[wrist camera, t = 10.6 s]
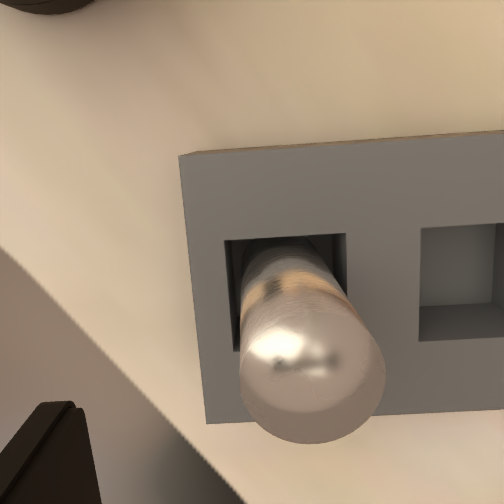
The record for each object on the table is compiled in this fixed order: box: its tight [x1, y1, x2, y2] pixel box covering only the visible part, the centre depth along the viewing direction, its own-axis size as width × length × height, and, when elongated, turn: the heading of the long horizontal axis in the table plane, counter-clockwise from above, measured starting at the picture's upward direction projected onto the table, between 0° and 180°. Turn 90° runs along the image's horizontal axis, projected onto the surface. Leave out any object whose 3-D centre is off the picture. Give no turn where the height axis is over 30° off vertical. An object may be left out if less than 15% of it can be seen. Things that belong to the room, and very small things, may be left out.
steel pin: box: [240, 235, 386, 444], centre depth 18 cm, size 4×4×11 cm
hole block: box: [178, 130, 504, 424], centre depth 22 cm, size 12×16×6 cm
